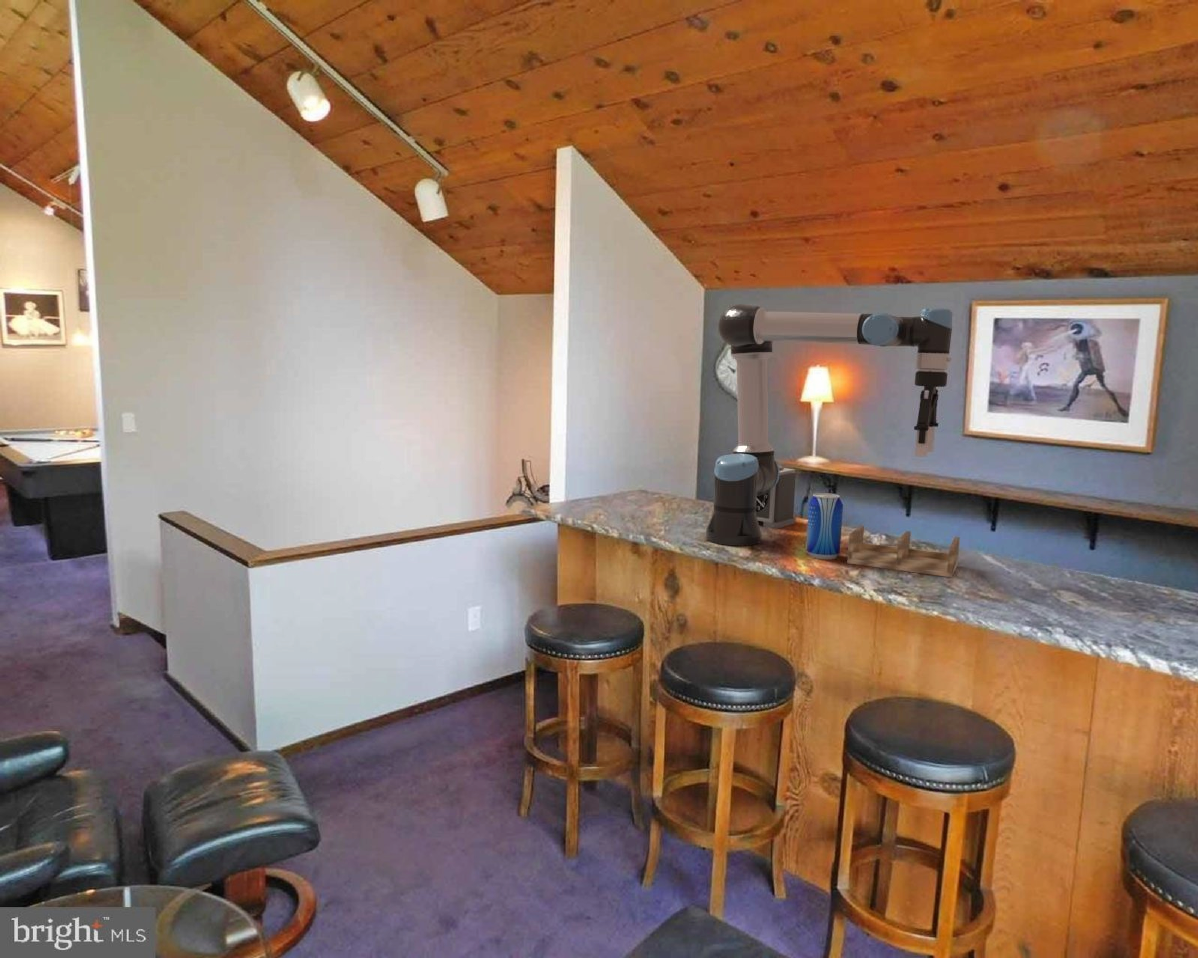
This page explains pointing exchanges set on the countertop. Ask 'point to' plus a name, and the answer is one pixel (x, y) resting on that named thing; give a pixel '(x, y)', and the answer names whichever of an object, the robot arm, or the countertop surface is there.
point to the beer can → (824, 526)
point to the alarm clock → (778, 501)
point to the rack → (902, 555)
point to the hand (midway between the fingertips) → (924, 453)
